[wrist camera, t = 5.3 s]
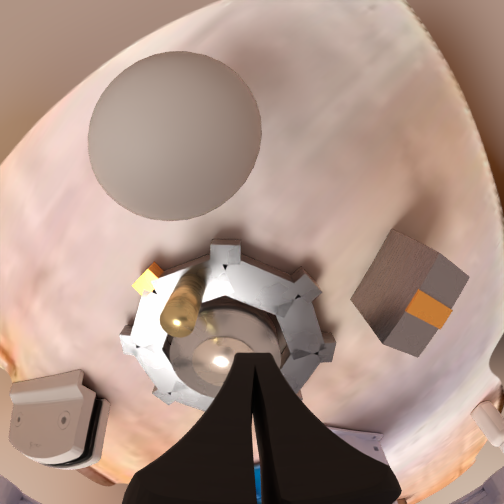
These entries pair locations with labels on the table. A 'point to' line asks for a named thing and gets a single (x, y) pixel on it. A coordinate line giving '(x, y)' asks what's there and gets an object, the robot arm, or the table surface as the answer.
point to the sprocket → (213, 286)
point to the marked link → (408, 293)
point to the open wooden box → (402, 501)
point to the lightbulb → (174, 136)
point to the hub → (221, 343)
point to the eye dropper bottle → (490, 423)
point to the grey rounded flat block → (58, 421)
